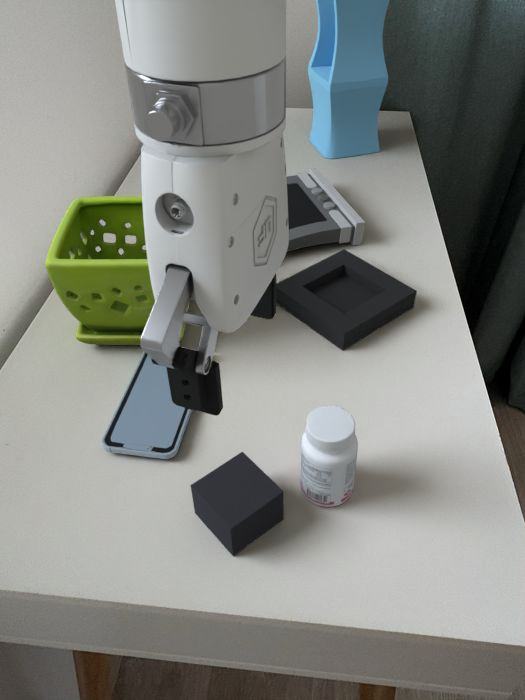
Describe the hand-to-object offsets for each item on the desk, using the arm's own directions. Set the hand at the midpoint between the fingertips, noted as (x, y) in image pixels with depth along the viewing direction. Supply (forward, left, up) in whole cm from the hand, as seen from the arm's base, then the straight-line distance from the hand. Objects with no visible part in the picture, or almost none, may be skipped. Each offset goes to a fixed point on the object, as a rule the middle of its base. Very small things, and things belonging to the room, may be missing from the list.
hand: (228, 356), depth 42 cm
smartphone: (+2, -16, -19) cm, 25 cm away
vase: (-46, -62, -19) cm, 79 cm away
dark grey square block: (0, 0, -18) cm, 19 cm away
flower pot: (0, -30, -19) cm, 35 cm away
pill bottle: (-8, +1, -19) cm, 20 cm away
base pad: (-23, -22, -18) cm, 37 cm away
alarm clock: (-25, -42, -19) cm, 52 cm away
